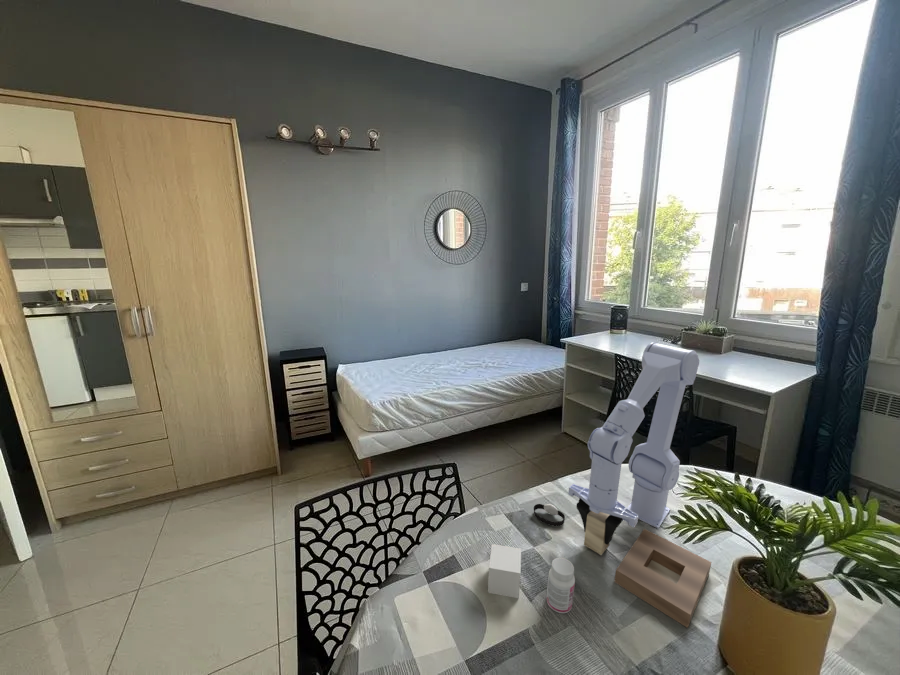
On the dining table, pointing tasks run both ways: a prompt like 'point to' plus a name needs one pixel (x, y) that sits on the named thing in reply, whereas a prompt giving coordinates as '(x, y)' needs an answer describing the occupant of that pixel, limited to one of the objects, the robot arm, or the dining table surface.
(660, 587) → the socket block
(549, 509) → the watch
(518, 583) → the white cube
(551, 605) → the pill bottle
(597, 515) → the beech peg
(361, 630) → the dining table surface
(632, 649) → the dining table surface
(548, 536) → the dining table surface
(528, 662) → the dining table surface
